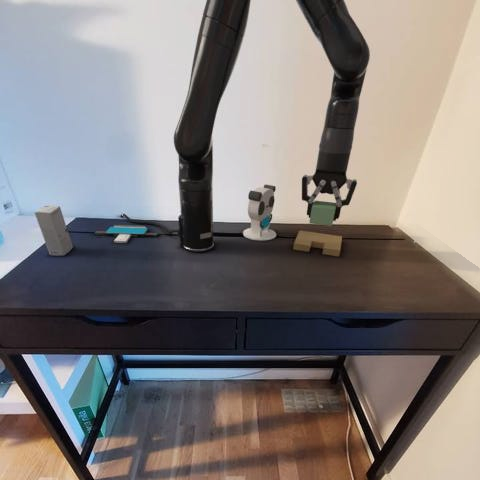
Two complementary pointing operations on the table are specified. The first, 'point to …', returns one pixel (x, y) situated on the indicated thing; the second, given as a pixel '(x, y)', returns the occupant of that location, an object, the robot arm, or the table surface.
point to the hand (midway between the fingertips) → (322, 218)
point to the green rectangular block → (322, 213)
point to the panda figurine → (261, 213)
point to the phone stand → (126, 232)
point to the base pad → (318, 242)
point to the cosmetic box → (54, 230)
